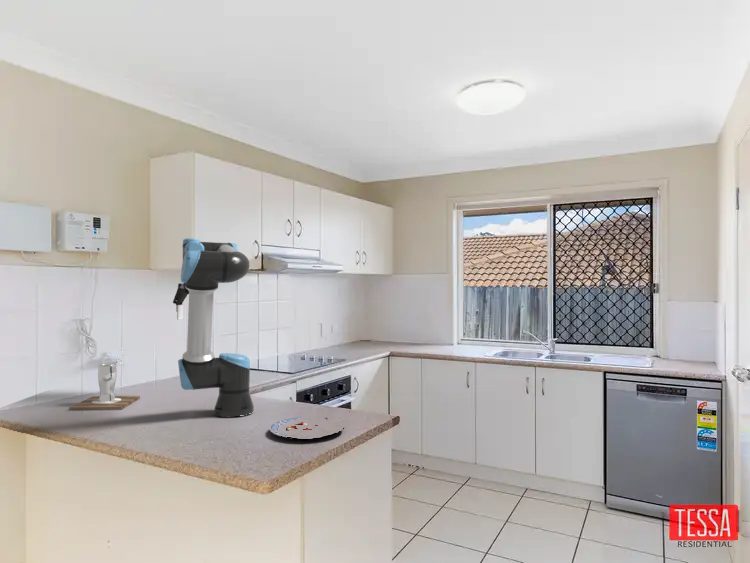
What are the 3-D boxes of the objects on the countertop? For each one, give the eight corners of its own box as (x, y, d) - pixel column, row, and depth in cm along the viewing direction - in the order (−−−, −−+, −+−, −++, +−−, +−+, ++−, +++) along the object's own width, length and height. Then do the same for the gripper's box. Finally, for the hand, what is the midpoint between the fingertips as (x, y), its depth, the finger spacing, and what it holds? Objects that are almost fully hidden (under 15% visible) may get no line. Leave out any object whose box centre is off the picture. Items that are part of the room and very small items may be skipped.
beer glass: (120, 399, 215) (120, 364, 215) (107, 403, 208) (107, 366, 208) (106, 398, 217) (107, 363, 217) (93, 401, 210) (94, 365, 210)
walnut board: (121, 409, 203) (121, 405, 203) (69, 410, 202) (69, 406, 202) (139, 398, 223) (140, 395, 223) (92, 399, 221) (92, 395, 221)
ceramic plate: (315, 449, 157) (315, 439, 157) (253, 436, 170) (253, 427, 170) (358, 429, 179) (358, 420, 179) (300, 419, 192) (300, 411, 192)
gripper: (218, 273, 225) (217, 320, 225) (178, 273, 237) (177, 318, 236) (205, 272, 219) (205, 321, 219) (165, 272, 230) (164, 319, 230)
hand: (190, 320), depth 227 cm, fingers open, 13 cm apart
